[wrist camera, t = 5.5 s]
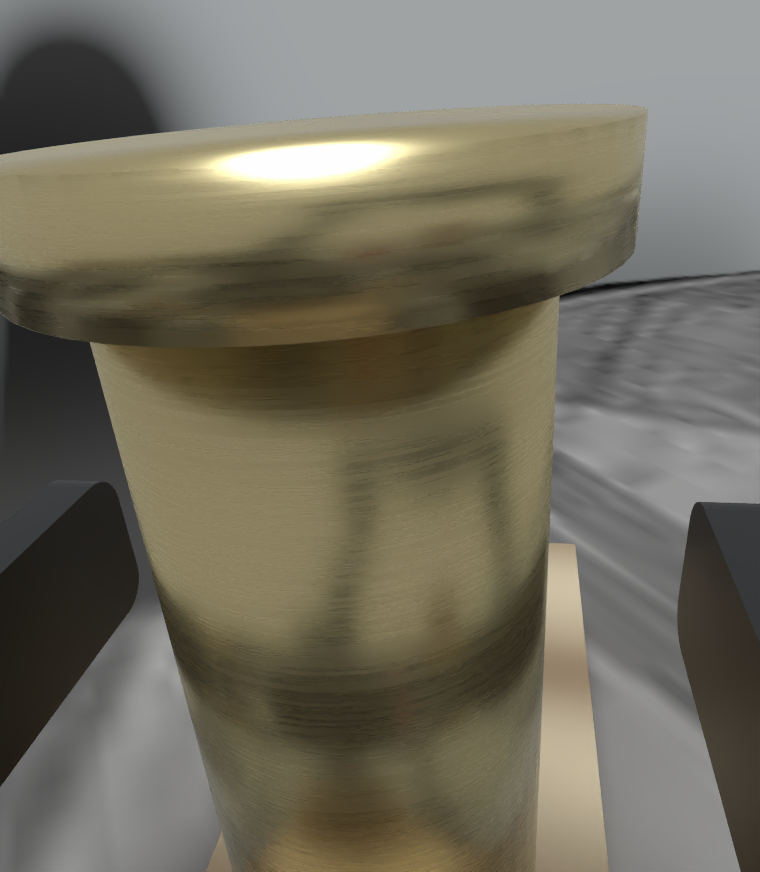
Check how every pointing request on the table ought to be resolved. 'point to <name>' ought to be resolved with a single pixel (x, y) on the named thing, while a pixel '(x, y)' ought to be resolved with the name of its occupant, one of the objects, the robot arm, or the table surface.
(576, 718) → the body
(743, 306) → the table surface
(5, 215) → the brass flanged cylinder
